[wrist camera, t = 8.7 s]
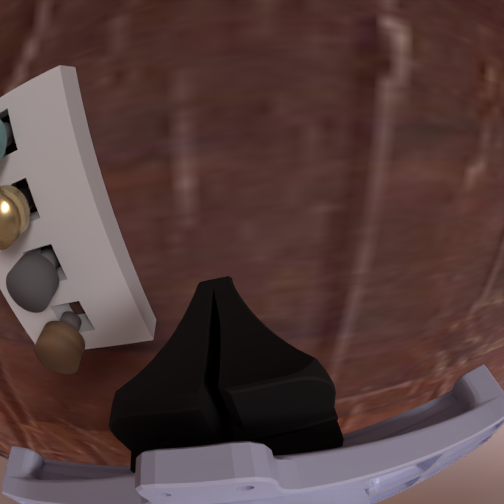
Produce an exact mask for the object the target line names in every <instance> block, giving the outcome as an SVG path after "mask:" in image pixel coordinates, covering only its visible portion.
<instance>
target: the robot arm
mask: <svg viewBox="0 0 504 504" xmlns="http://www.w3.org/2000/svg"><path fill="white" fill-rule="evenodd" d="M335 394H336V392H335V386H334V384H333V382H332V380H331V378H330V376H329V375H328V373H327V372H326V370H325V369H324V368H323V366H322V365H321V364H320V363H319V361H318V360H317V359H316V358H314V357H312V356H310V355H308V354H306V353H304V352H302V351H300V350H298V349H296V348H295V347H293V346H291V345H290V344H288V343H287V342H285V341H284V340H283V339H281V338H280V337H278V336H277V335H276V334H274V333H273V332H272V331H271V330H270V329H268V328H267V327H266V326H265V325H264V324H263V323H262V322H261V321H260V320H259V319H258V318H257V317H256V316H255V315H254V314H253V313H252V311H251V310H250V309H249V308H248V306H247V305H246V304H245V302H244V301H243V300H242V298H241V297H240V295H239V294H238V292H237V290H236V288H235V286H234V284H233V281H232V278H231V277H229V276H227V277H222V278H217V279H212V280H207V281H203V282H200V283H199V284H198V286H197V289H196V291H195V294H194V296H193V298H192V300H191V303H190V305H189V307H188V309H187V311H186V313H185V315H184V316H183V318H182V320H181V322H180V323H179V325H178V327H177V329H176V330H175V332H174V333H173V335H172V336H171V338H170V339H169V341H168V342H167V343H166V345H165V346H164V347H163V348H162V350H161V351H160V352H159V353H158V354H157V355H156V357H155V358H154V359H153V360H152V361H151V362H150V363H149V364H148V365H147V366H146V367H145V368H144V369H143V370H142V371H141V372H140V373H139V374H137V375H136V376H135V377H134V378H133V379H131V380H130V381H129V382H128V383H126V384H125V385H124V386H122V387H121V388H120V389H118V390H117V391H116V393H115V396H114V400H113V404H112V409H111V416H110V422H109V427H110V430H111V432H112V433H113V434H114V435H115V437H116V438H117V439H119V440H120V441H121V442H122V443H123V444H124V445H125V446H126V447H127V448H128V449H129V450H130V451H132V452H131V466H108V465H92V464H80V463H71V462H62V461H55V460H48V459H43V457H42V456H40V455H39V454H38V453H37V452H35V451H33V450H31V449H28V448H22V447H17V446H12V448H11V452H10V455H9V459H8V464H7V468H6V472H5V477H4V481H3V486H2V493H3V494H4V495H6V496H8V497H10V498H11V499H13V500H15V501H16V502H18V503H20V504H375V503H377V502H380V501H382V500H384V499H386V498H389V497H391V496H393V495H395V494H397V493H400V492H402V491H404V490H406V489H408V488H410V487H412V486H414V485H416V484H418V483H419V482H421V481H423V480H425V479H427V478H429V477H430V476H432V475H434V474H436V473H438V472H439V471H441V470H443V469H444V468H446V467H448V466H449V465H451V464H453V463H454V462H456V461H458V460H459V459H461V458H462V457H464V456H465V455H467V454H469V453H470V452H472V451H473V450H475V449H477V448H478V447H480V446H481V445H483V444H484V443H486V442H487V441H488V440H489V439H490V438H491V437H492V436H493V435H494V434H495V433H496V432H497V430H498V429H499V428H500V427H501V426H502V425H503V424H504V392H503V390H502V389H501V387H500V386H499V384H498V383H497V382H496V380H495V379H494V377H493V376H492V375H491V373H490V372H489V370H488V369H487V368H486V366H485V365H484V364H482V365H480V366H478V367H476V368H475V369H473V370H471V371H469V372H467V373H465V374H464V375H462V376H461V377H460V378H459V379H458V380H457V381H456V382H455V384H454V386H453V389H452V390H451V391H449V392H447V393H446V394H444V395H441V396H439V397H437V398H435V399H433V400H431V401H429V402H427V403H425V404H422V405H420V406H418V407H416V408H413V409H411V410H409V411H407V412H404V413H402V414H399V415H397V416H394V417H392V418H389V419H387V420H384V421H381V422H379V423H376V424H373V425H371V426H368V427H365V428H362V429H359V430H356V431H353V432H350V433H347V434H344V435H342V433H341V430H340V427H339V424H338V422H337V420H338V417H337V414H336V411H335V408H334V405H335Z"/></svg>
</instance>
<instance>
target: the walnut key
mask: <svg viewBox="0 0 504 504" xmlns="http://www.w3.org/2000/svg"><path fill="white" fill-rule="evenodd" d="M81 324H82V321H81V319H80V317H79V316H78V315H77V314H76V313H74V312H71V311H66V312H64V313H63V314H62V316H61V318H60V320H59V321H50V322H47V323H46V324H45V325H44V327H43V329H42V331H41V333H40V335H39V338H38V340H37V342H36V344H35V347H34V350H35V354H36V356H37V358H38V359H39V360H40V361H41V362H42V364H44V365H45V366H46V367H47V368H49V369H51V370H53V371H55V372H57V373H61V374H73V373H75V372H76V371H77V370H78V368H79V365H80V361H81V358H82V355H83V352H84V349H85V341H84V339H83V337H82V335H81V334H80V333H79V330H80V327H81Z"/></svg>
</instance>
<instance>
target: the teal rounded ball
mask: <svg viewBox="0 0 504 504" xmlns="http://www.w3.org/2000/svg"><path fill="white" fill-rule="evenodd" d="M13 139H14V134H13V130H12V126H11V124H10V123H8V122H2V120H1V119H0V161H1V159H2V158H3V156H4V153H5V150H6V147H8V146H9V145H10V144H11V143H12V141H13Z"/></svg>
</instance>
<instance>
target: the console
mask: <svg viewBox="0 0 504 504" xmlns="http://www.w3.org/2000/svg"><path fill="white" fill-rule="evenodd" d="M8 114H9V117H10V122H11V126H12V130H13V134H14V138H15V142H16V146H17V149H18V150H16V151H14V152H12V153H10V154H8V155H6V151H5V153H4V156H3V158H2V159H1V161H0V186H2V185H12V186H14V187H16V184H15V182H17V181H19V180H22V179H24V178H26V179H27V182H28V185H29V188H30V191H31V194H32V197H33V200H34V202H35V205H36V208H37V210H38V211H36V212H34V213H31V214H30V222H29V225H28V227H27V229H26V231H25V232H24V233H23V234H22V235H21V236H20V237H19V238H18V239H17V240H16V241H15V242H14V243H13V244H12V245H11V246H10V247H9V248H7V249H5V250H0V289H1V291H2V293H3V294H4V296H5V298H6V300H7V301H8V303H9V305H10V306H11V308H12V310H13V311H14V313H15V315H16V316H17V318H18V319H19V321H20V322H21V324H22V326H23V327H24V329H25V330H26V332H27V333H28V335H29V336H30V337H31V339H32V340H33V342H34V343H35V344H36V342H37V340H38V338H39V335H40V333H41V331H42V329H43V327H44V325H45V324H46V323H47V322H50V321H59V320H60V318H61V316H62V314H63V313H64V312H66V311H71V312H73V311H72V309H71V307H70V305H69V304H68V303H71V302H76V301H79V302H80V304H81V306H82V308H83V309H84V311H85V313H84V314H79V315H78V316H79V317H80V319H81V321H82V324H81V327H80V330H79V333H80V334H81V335H82V337H83V339H84V341H85V349H92V348H100V347H108V346H116V345H123V344H130V343H137V342H144V341H151V340H153V339H154V332H155V325H156V318H155V316H154V314H153V311H152V309H151V307H150V305H149V302H148V300H147V298H146V295H145V293H144V291H143V288H142V286H141V284H140V281H139V279H138V276H137V274H136V271H135V269H134V266H133V264H132V261H131V259H130V256H129V254H128V251H127V248H126V246H125V243H124V240H123V238H122V235H121V232H120V230H119V227H118V224H117V221H116V218H115V215H114V212H113V209H112V207H111V204H110V200H109V197H108V194H107V191H106V188H105V185H104V182H103V178H102V175H101V172H100V168H99V165H98V162H97V158H96V155H95V151H94V147H93V144H92V140H91V136H90V132H89V128H88V124H87V120H86V116H85V112H84V107H83V103H82V98H81V94H80V89H79V84H78V79H77V74H76V68H75V67H69V66H57V67H55V68H53V69H51V70H49V71H47V72H45V73H43V74H41V75H39V76H37V77H35V78H33V79H32V80H30V81H28V82H26V83H24V84H22V85H21V86H19V87H17V88H15V89H14V90H12V91H10V92H9V93H7V94H5V95H4V96H2V97H0V119H2V118H3V117H5V116H7V115H8ZM16 188H17V187H16ZM49 244H51V245H52V247H53V249H54V251H55V254H56V256H57V258H58V260H59V262H60V264H61V266H60V267H57V269H56V270H57V272H58V275H59V287H58V289H57V291H56V293H55V294H54V296H53V298H52V300H51V301H50V303H49V305H48V307H47V308H46V309H45V310H44V311H43V312H40V313H33V312H29V311H26V310H24V309H23V308H21V307H20V306H19V305H17V304H16V303H15V302H14V300H13V299H12V298H11V296H10V294H9V293H8V290H7V287H6V277H7V274H8V273H9V271H10V270H11V269H12V268H13V266H14V265H15V264H16V263H17V261H18V260H19V259H20V258H21V257H22V256H23V255H24V254H26V253H29V252H35V253H40V252H41V251H42V250H41V248H40V247H42V246H46V245H49Z"/></svg>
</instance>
